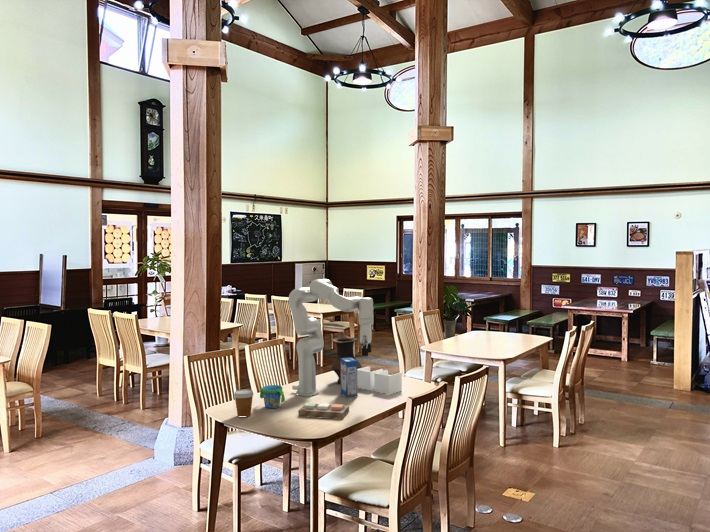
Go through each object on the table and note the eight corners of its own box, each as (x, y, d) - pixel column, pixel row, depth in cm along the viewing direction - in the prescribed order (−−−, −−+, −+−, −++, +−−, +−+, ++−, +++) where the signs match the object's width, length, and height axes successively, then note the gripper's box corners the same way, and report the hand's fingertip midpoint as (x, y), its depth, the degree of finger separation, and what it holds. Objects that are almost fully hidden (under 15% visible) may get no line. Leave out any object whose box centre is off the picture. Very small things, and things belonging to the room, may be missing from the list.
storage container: (356, 388, 319) (356, 369, 318) (369, 384, 326) (369, 366, 326) (389, 395, 301) (389, 375, 301) (401, 391, 309) (401, 372, 309)
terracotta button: (331, 412, 265) (331, 406, 265) (334, 409, 270) (334, 403, 270) (341, 412, 264) (341, 407, 264) (343, 409, 268) (343, 404, 268)
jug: (365, 384, 325) (365, 334, 324) (335, 387, 320) (335, 336, 319) (355, 376, 345) (354, 330, 344) (327, 379, 340) (326, 331, 339)
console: (298, 416, 265) (298, 409, 265) (306, 409, 277) (306, 402, 277) (343, 419, 260) (343, 412, 260) (349, 411, 272) (349, 405, 271)
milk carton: (357, 396, 299) (357, 360, 298) (347, 398, 297) (346, 361, 296) (351, 392, 308) (350, 357, 308) (340, 393, 306) (340, 358, 305)
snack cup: (290, 407, 281) (289, 387, 280) (274, 412, 273) (274, 391, 272) (270, 401, 291) (270, 383, 291) (254, 406, 283) (254, 387, 283)
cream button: (317, 411, 266) (317, 406, 266) (320, 408, 271) (320, 403, 271) (327, 412, 265) (327, 406, 265) (330, 409, 270) (330, 403, 270)
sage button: (304, 410, 268) (304, 405, 268) (307, 407, 273) (307, 402, 273) (313, 411, 267) (313, 405, 267) (316, 408, 272) (316, 403, 272)
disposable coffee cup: (244, 419, 261) (244, 395, 260) (230, 416, 266) (229, 392, 265) (258, 414, 269) (257, 390, 268) (243, 411, 274) (243, 388, 273)
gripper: (361, 319, 292) (362, 350, 292) (355, 323, 275) (356, 357, 275) (375, 319, 290) (376, 351, 291) (370, 323, 273) (371, 357, 274)
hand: (366, 354), depth 283 cm, fingers open, 9 cm apart
